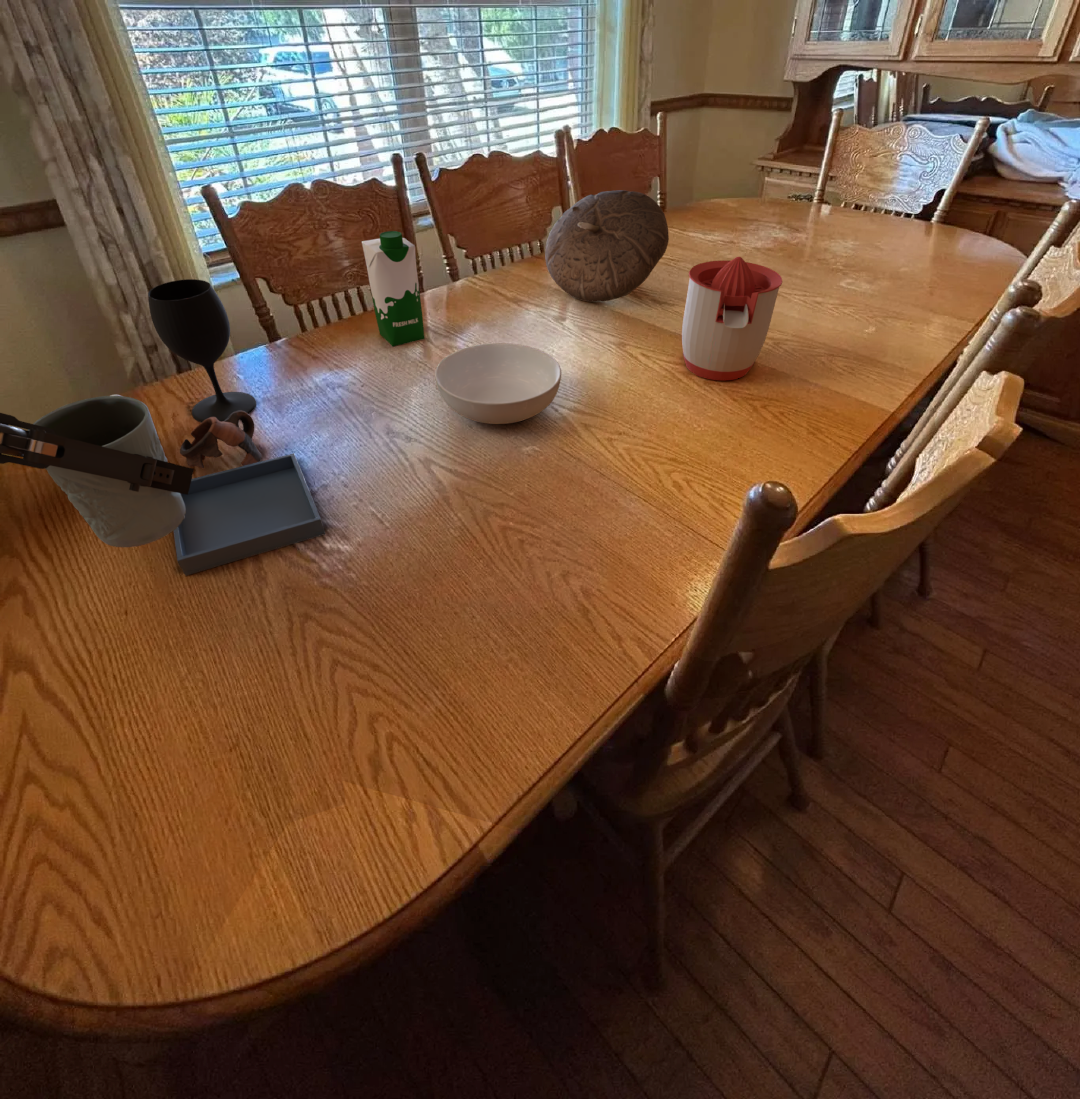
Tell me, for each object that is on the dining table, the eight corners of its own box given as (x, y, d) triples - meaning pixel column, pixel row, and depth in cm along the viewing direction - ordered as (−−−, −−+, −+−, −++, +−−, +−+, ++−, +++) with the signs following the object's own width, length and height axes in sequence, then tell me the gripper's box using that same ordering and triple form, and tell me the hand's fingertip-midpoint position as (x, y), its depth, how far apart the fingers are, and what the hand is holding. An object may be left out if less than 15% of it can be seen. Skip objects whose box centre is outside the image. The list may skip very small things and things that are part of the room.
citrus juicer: (676, 389, 113) (695, 274, 99) (672, 347, 125) (689, 240, 112) (765, 395, 111) (797, 279, 98) (753, 351, 124) (779, 243, 110)
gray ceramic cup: (195, 485, 71) (152, 388, 63) (192, 541, 64) (143, 441, 56) (94, 504, 68) (35, 405, 60) (80, 565, 61) (10, 463, 53)
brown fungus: (520, 302, 144) (520, 181, 138) (576, 310, 162) (578, 204, 155) (628, 294, 128) (634, 157, 122) (677, 304, 146) (684, 185, 139)
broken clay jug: (248, 488, 92) (199, 450, 86) (211, 498, 97) (163, 463, 91) (283, 428, 98) (240, 389, 92) (247, 440, 103) (204, 405, 97)
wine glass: (269, 400, 109) (232, 283, 96) (225, 430, 102) (177, 307, 89) (224, 388, 113) (181, 273, 99) (178, 416, 106) (125, 296, 92)
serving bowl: (419, 429, 103) (413, 391, 98) (464, 372, 117) (461, 336, 113) (542, 449, 98) (542, 409, 94) (573, 386, 113) (574, 350, 109)
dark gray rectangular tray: (174, 499, 89) (167, 484, 87) (298, 467, 95) (294, 452, 93) (185, 576, 78) (177, 560, 76) (325, 534, 83) (320, 519, 82)
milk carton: (390, 349, 124) (372, 241, 111) (373, 333, 130) (354, 228, 117) (430, 339, 128) (418, 233, 114) (413, 324, 133) (399, 221, 120)
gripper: (-242, 435, 46) (54, 486, 68) (-12, 495, 41) (228, 529, 63) (-217, 336, 46) (71, 418, 68) (16, 383, 41) (246, 455, 63)
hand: (146, 471), depth 65 cm, fingers closed on gray ceramic cup, 10 cm apart
